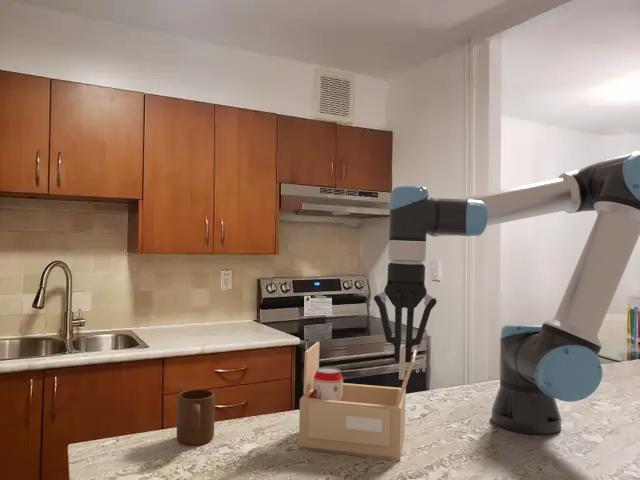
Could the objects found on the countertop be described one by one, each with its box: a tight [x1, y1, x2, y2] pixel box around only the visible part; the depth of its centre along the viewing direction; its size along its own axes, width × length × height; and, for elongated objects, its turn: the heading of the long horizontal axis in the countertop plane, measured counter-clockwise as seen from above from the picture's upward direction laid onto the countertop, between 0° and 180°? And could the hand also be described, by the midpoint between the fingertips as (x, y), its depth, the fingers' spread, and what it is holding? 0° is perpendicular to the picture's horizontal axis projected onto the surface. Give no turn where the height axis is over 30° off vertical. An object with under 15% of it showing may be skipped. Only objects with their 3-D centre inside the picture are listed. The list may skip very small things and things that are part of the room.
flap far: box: [303, 341, 321, 395], centre depth 109 cm, size 8×11×1 cm
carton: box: [298, 382, 407, 462], centre depth 107 cm, size 20×15×10 cm
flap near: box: [398, 349, 418, 403], centre depth 105 cm, size 8×11×1 cm
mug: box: [176, 388, 216, 447], centre depth 105 cm, size 12×8×9 cm, turn 13°
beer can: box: [313, 366, 344, 401], centre depth 107 cm, size 6×6×16 cm
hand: (402, 377), depth 105 cm, fingers closed
